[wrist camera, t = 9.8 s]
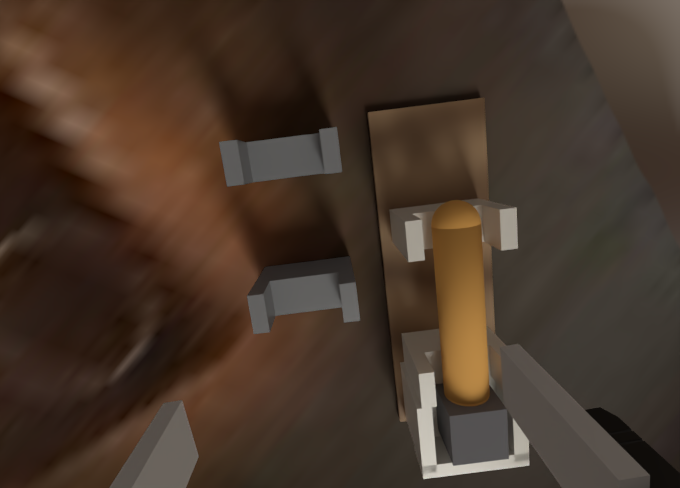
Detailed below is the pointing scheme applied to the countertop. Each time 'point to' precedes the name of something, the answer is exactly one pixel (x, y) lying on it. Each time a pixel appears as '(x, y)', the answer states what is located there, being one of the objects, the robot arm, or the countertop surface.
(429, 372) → the clips
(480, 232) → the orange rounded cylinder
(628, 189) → the countertop surface
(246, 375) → the countertop surface
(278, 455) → the countertop surface
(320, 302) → the grey cradle stand
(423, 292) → the clip rail
